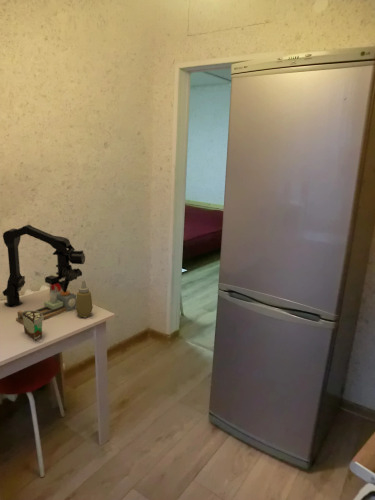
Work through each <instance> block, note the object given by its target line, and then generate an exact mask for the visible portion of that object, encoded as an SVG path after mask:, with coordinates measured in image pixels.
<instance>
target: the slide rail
mask: <svg viewBox="0 0 375 500" xmlns="http://www.w3.org/2000/svg"><path fill="white" fill-rule="evenodd" d="M34 311H39V312H41V313H42V314H43V317H44V320H43V321H45V320H48V319H50V318H52V317H55V316H58V315H60V314H62V313H65V312H67V311H66V308H64V305H63V306H62V307H59V308H56V309H54V310H53V309H50V308H48V307H45V306H43V307H40V308H37V309H35V310H34ZM22 312H23V311H21V310H18V311H17V317H16V318H15V322H17V323H20V324H22V325H23V326H24V323H23V316H22Z"/></svg>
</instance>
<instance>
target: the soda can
mask: <svg viewBox="0 0 375 500" xmlns="http://www.w3.org/2000/svg"><path fill="white" fill-rule="evenodd" d="M56 273H57V272H53V273H51V274H49V276H51V275H53V276H58V275H56ZM51 290H56V293H57V292H60V291H63V290H62V288H61V286H60V285H59V283H57V284H54V285H51V284H49V292H50V291H51Z"/></svg>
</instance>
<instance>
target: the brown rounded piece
mask: <svg viewBox="0 0 375 500" xmlns="http://www.w3.org/2000/svg"><path fill="white" fill-rule="evenodd" d="M69 292H70V290H68V289H67V291H66V292H63V291H61V292H60V294H61V295H62V296H66V295H69V294H70V293H71V292H70V293H69Z"/></svg>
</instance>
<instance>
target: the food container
mask: <svg viewBox="0 0 375 500" xmlns="http://www.w3.org/2000/svg"><path fill="white" fill-rule="evenodd" d="M22 316H23V323H24V325H23V329H24V334H25V336H27V337H28V338H30V339H31V340H32V341H33V342H36V341H38V340H40V339H41V338H42V335H43V321H45V320H44V317H43V314H42V313H41V312H39V311H35V310H34V309H33V310H24V311H22Z"/></svg>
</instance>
